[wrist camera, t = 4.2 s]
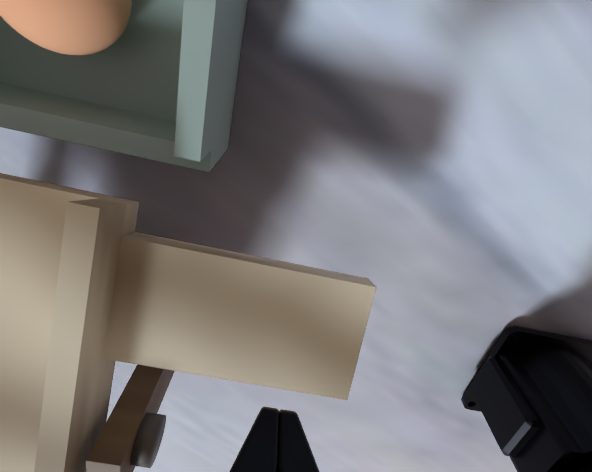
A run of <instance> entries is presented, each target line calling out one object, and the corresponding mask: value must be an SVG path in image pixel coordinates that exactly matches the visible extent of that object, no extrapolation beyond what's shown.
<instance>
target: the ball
mask: <svg viewBox="0 0 592 472" xmlns="http://www.w3.org/2000/svg"><path fill="white" fill-rule="evenodd" d="M131 5H132V0H0V16H1V17H2V18H3V19H4V20H5V21H6V22H7V23H8V24H9V25H10V26H11V27H12V28H13V29H15V30H16V31H17V32H18V33H20V34H21V35H22V36H24V37H25V38H27V39H28V40H30V41H32V42H33V43H35V44H37V45H39V46H41V47H43V48H45V49H48V50H51V51H54V52H57V53H61V54H67V55H88V54H93V53H97V52H100V51H102V50H104V49H106V48H108V47H109V46H111V45H112V44H113V43H114V42H116V41H117V40H118V38H119V37H120V36H121V35H122V33H123V32H124V30H125V28H126V26H127V24H128V21H129V18H130V13H131Z"/></svg>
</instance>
